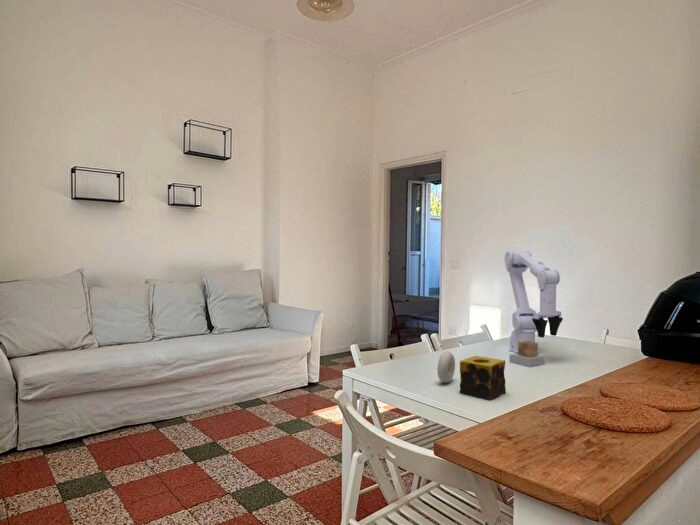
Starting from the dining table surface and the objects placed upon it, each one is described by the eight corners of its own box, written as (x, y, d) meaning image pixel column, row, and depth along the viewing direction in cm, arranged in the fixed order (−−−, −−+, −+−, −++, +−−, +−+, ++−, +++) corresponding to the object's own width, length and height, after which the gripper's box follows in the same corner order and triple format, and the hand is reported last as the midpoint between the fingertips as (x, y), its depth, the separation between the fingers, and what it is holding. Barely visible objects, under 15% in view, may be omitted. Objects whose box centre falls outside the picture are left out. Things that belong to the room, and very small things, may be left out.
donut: (445, 387, 143) (446, 355, 142) (435, 385, 144) (435, 353, 144) (456, 379, 151) (456, 349, 151) (446, 378, 153) (446, 348, 153)
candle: (506, 393, 137) (506, 360, 137) (491, 401, 130) (491, 366, 129) (475, 386, 144) (475, 354, 144) (458, 393, 136) (459, 360, 136)
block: (517, 355, 175) (518, 342, 175) (526, 353, 177) (526, 340, 177) (529, 357, 171) (529, 344, 170) (537, 355, 173) (537, 342, 173)
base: (509, 362, 176) (509, 354, 175) (524, 359, 181) (524, 351, 180) (530, 367, 168) (530, 359, 168) (544, 364, 173) (544, 356, 173)
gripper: (545, 303, 169) (545, 339, 169) (568, 301, 177) (568, 336, 177) (529, 301, 175) (528, 336, 175) (552, 299, 183) (551, 333, 183)
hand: (547, 336), depth 177 cm, fingers open, 7 cm apart
